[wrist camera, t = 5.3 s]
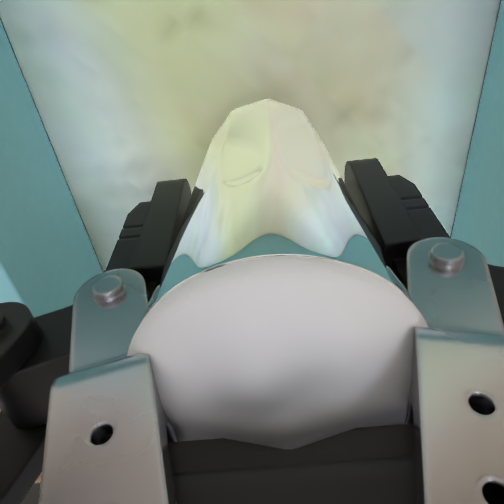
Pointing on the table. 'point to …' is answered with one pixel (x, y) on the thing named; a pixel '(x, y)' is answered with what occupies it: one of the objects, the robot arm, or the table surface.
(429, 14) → the table surface
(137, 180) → the table surface
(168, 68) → the table surface
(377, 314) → the milkshake
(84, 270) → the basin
